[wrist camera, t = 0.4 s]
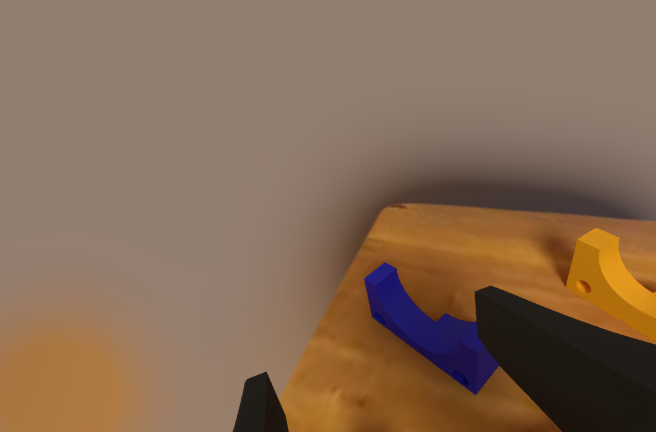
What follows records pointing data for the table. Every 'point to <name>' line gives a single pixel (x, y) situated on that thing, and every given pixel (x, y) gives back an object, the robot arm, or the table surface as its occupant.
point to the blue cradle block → (430, 331)
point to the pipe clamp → (611, 282)
